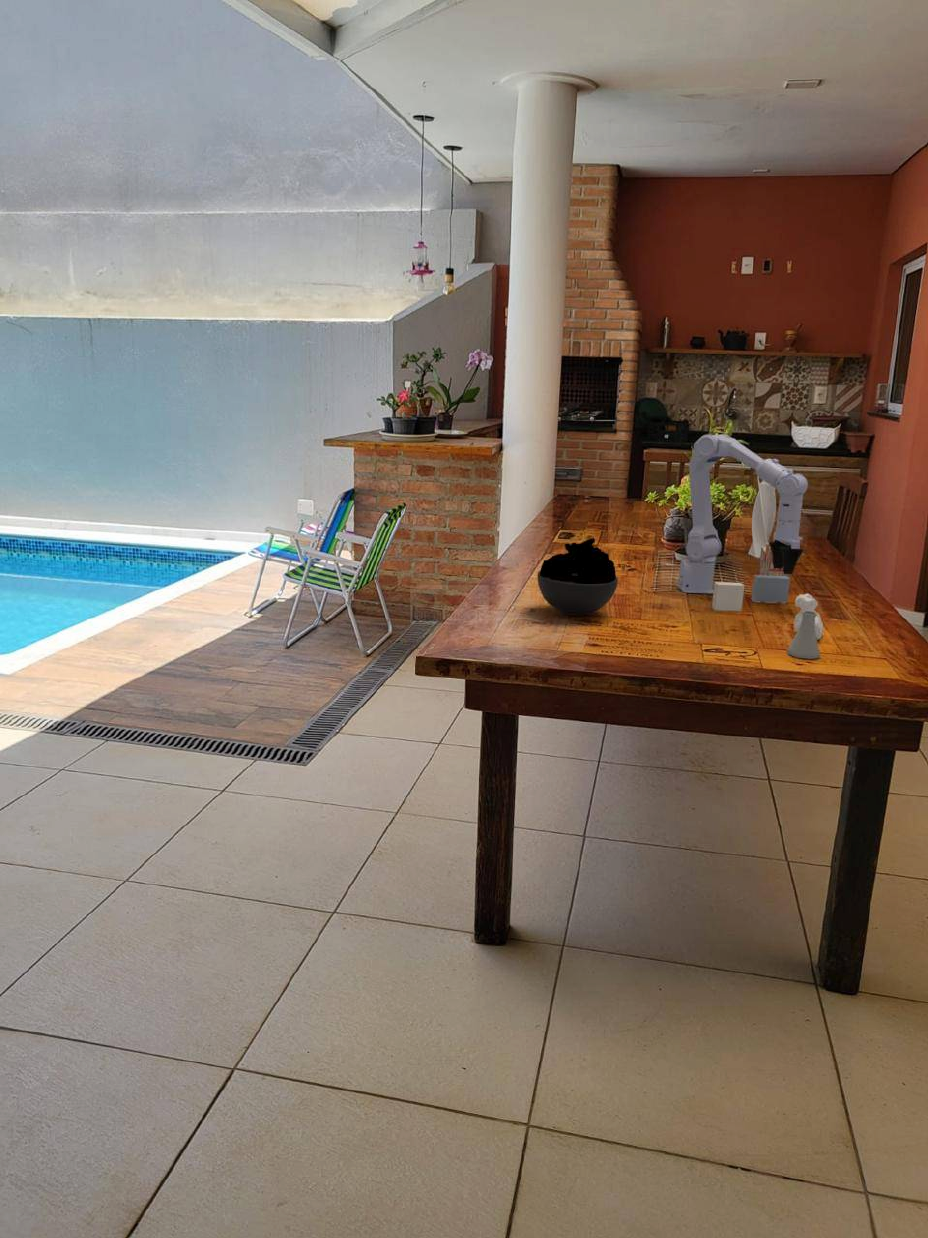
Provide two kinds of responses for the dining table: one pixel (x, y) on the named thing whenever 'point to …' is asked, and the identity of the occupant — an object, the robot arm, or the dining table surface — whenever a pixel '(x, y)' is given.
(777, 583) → the gray rectangular block
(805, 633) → the flask
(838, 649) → the dining table surface
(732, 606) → the light grey square block
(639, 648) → the dining table surface
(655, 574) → the dining table surface
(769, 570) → the stack of blocks
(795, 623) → the bust
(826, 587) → the dining table surface
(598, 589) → the coal bowl
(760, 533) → the skyscraper
